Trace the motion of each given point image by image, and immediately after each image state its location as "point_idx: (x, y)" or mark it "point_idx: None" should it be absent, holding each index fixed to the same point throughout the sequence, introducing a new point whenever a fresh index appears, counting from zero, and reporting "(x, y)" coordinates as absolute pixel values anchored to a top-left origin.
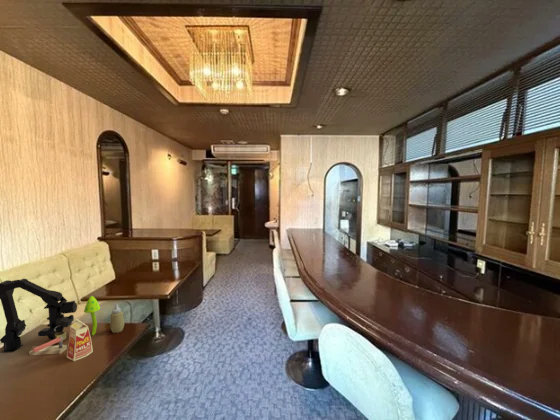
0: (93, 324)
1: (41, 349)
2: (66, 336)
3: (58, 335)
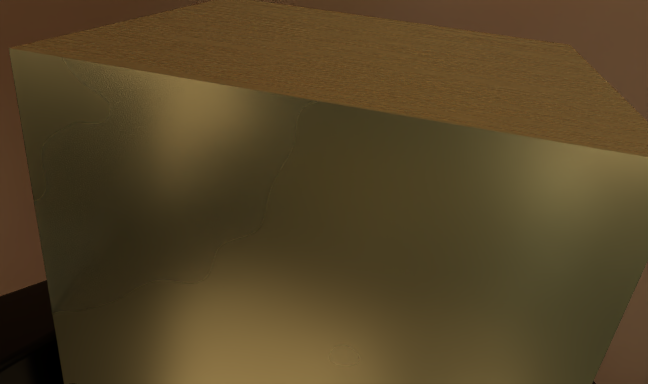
0: None
1: None
2: (202, 5)
3: (606, 339)
